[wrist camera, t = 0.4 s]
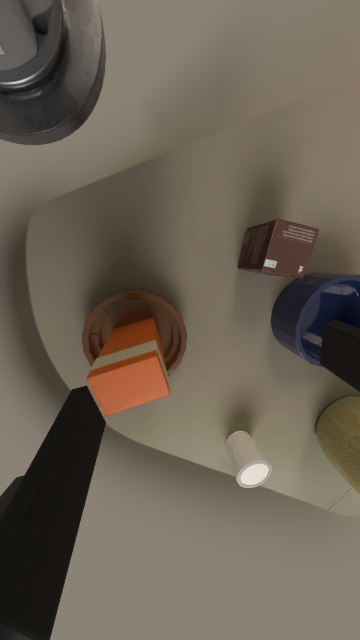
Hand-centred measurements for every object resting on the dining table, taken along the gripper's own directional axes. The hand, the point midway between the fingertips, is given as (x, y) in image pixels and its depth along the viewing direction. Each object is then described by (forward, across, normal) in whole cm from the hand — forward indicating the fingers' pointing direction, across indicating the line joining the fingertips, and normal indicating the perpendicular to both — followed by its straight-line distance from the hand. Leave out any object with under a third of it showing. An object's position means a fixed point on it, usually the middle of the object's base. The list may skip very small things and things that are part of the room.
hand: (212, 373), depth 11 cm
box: (+22, +14, +2) cm, 26 cm away
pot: (+21, +23, -10) cm, 33 cm away
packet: (+19, -7, -5) cm, 21 cm away
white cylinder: (+19, +6, -35) cm, 40 cm away
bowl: (+20, -7, -5) cm, 22 cm away
